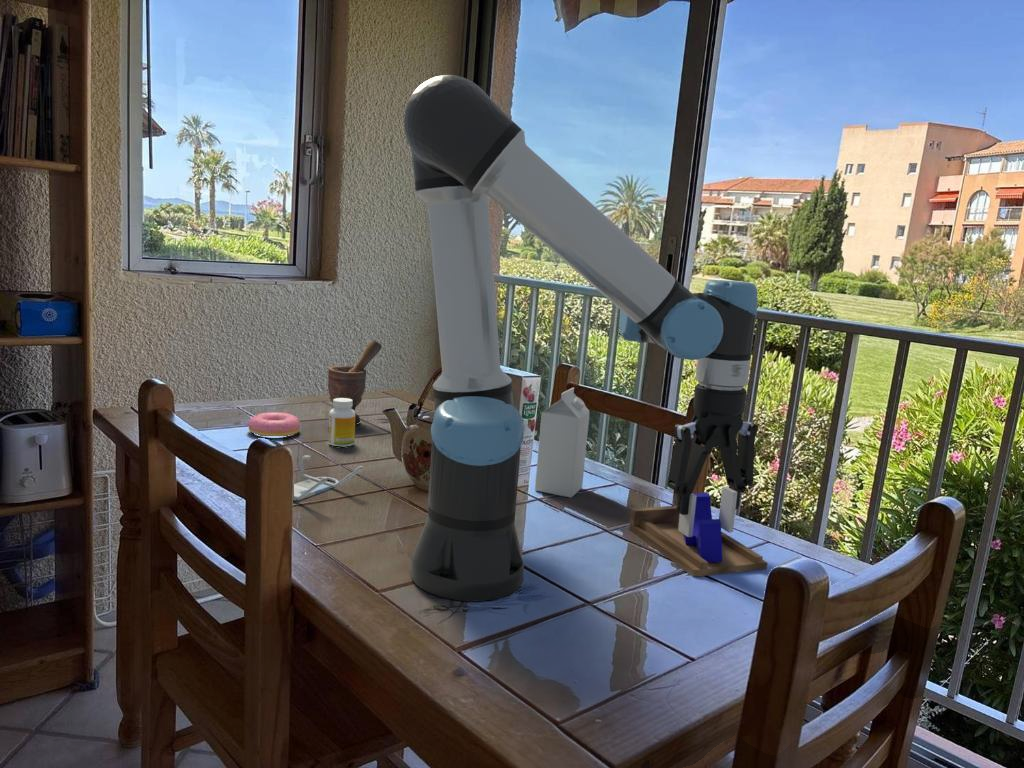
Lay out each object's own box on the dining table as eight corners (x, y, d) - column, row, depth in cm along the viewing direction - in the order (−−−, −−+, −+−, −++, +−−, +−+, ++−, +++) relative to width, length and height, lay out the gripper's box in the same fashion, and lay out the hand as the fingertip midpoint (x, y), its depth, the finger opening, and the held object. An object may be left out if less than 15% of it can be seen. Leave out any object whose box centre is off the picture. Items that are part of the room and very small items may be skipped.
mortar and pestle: (363, 416, 182) (367, 336, 178) (382, 424, 175) (386, 341, 171) (320, 421, 174) (322, 337, 170) (337, 429, 168) (340, 342, 164)
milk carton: (534, 491, 136) (543, 390, 133) (547, 481, 143) (555, 384, 139) (571, 498, 134) (581, 396, 130) (582, 488, 140) (592, 390, 137)
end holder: (693, 576, 105) (696, 553, 104) (629, 528, 121) (631, 508, 121) (766, 568, 110) (769, 546, 109) (695, 523, 126) (697, 504, 126)
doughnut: (236, 433, 159) (236, 414, 158) (276, 425, 168) (277, 407, 168) (271, 443, 154) (272, 424, 153) (311, 434, 163) (311, 416, 162)
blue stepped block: (681, 529, 120) (679, 494, 118) (710, 528, 119) (708, 492, 118) (690, 562, 108) (688, 524, 107) (722, 561, 107) (720, 523, 106)
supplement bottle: (359, 444, 157) (361, 400, 155) (341, 449, 153) (342, 403, 151) (341, 439, 160) (343, 395, 158) (322, 444, 155) (324, 399, 154)
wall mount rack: (314, 476, 136) (315, 446, 135) (373, 493, 130) (374, 461, 128) (248, 498, 122) (248, 465, 121) (310, 518, 116) (311, 483, 115)
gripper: (679, 392, 103) (664, 547, 107) (791, 388, 110) (773, 534, 114) (650, 381, 110) (637, 528, 114) (758, 379, 117) (741, 517, 121)
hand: (705, 531), depth 114 cm, fingers open, 7 cm apart
